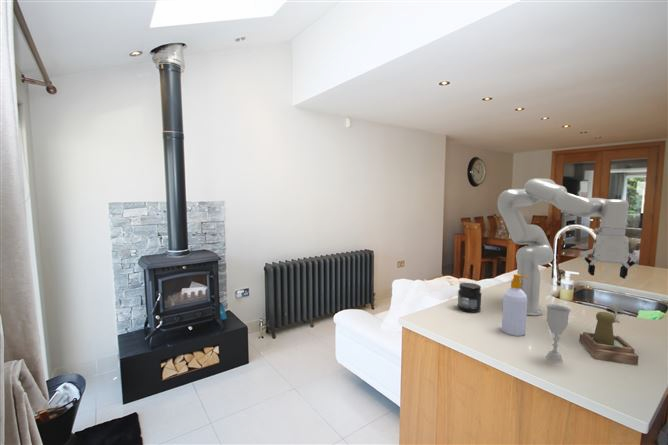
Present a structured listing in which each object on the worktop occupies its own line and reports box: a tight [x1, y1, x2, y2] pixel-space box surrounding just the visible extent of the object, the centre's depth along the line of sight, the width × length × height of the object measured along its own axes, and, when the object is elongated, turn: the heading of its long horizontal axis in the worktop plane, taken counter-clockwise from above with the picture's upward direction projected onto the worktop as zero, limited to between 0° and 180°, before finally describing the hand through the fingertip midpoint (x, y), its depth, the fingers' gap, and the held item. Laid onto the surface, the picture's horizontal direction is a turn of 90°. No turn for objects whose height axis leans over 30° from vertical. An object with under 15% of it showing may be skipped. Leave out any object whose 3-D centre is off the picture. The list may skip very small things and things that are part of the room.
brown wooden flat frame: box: [578, 331, 639, 365], centre depth 118 cm, size 12×14×4 cm
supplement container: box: [457, 282, 482, 314], centre depth 160 cm, size 10×10×12 cm
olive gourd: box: [593, 311, 616, 346], centre depth 118 cm, size 6×6×11 cm
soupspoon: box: [606, 306, 625, 324], centre depth 154 cm, size 22×3×7 cm
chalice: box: [545, 303, 571, 364], centre depth 112 cm, size 7×7×18 cm
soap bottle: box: [501, 273, 529, 337], centre depth 134 cm, size 9×9×24 cm
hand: (606, 276), depth 127 cm, fingers open, 9 cm apart
